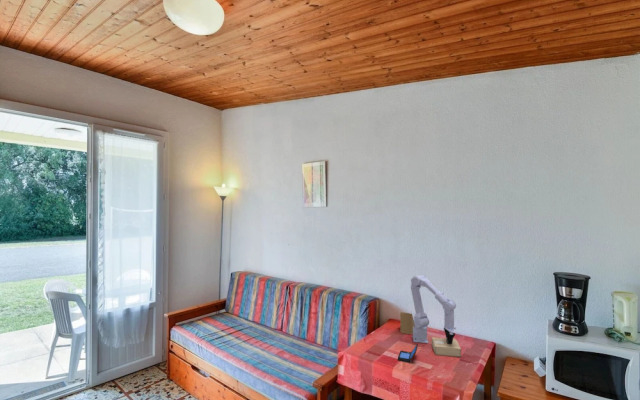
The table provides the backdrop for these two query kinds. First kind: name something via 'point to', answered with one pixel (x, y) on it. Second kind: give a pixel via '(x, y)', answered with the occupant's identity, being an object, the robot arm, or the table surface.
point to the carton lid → (445, 343)
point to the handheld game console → (407, 355)
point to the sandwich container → (406, 323)
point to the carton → (446, 351)
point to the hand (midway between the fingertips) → (449, 341)
